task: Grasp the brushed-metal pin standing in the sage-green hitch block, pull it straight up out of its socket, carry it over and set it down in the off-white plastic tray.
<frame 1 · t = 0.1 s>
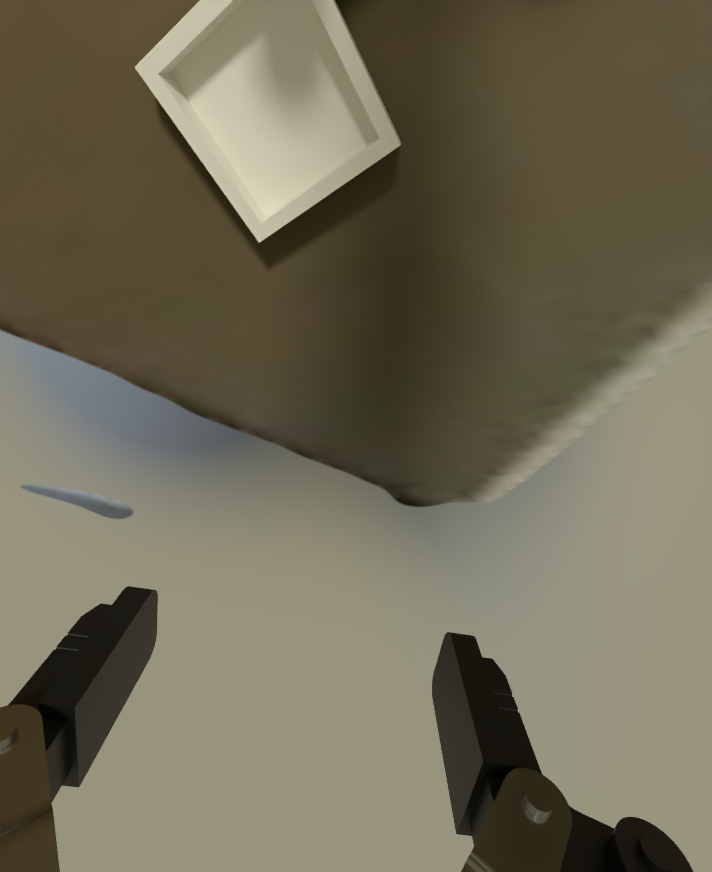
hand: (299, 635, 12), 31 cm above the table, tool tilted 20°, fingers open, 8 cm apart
tray: (279, 104, 30), on the table
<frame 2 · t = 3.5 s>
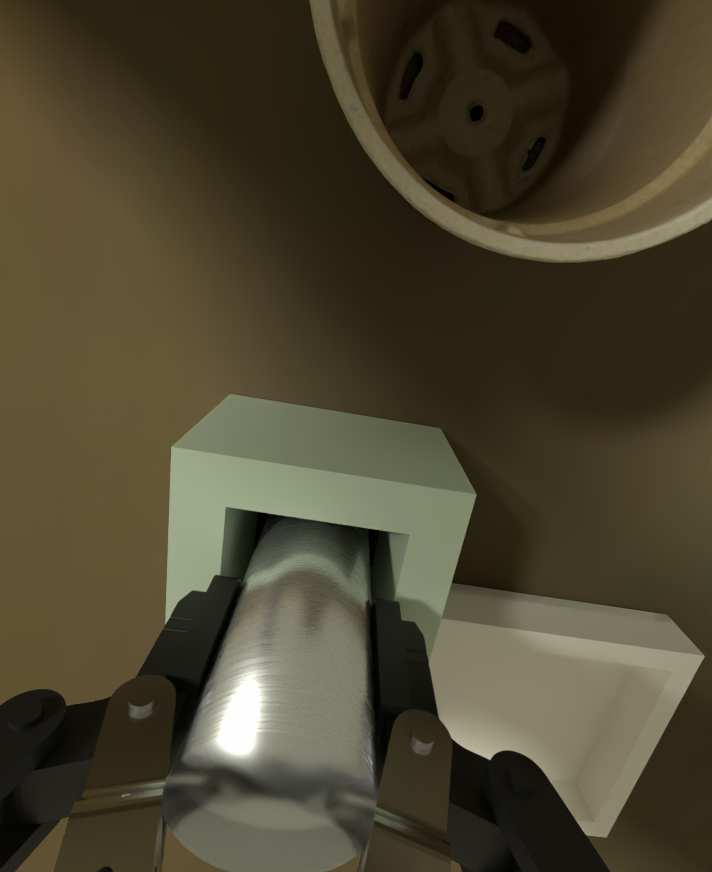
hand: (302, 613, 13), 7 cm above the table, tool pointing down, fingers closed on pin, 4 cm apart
pin: (306, 596, 14), in the hitch block, touching gripper
hitch block: (321, 504, 20), on the table
tray: (509, 692, 23), on the table
flower pot: (473, 120, 15), on the table
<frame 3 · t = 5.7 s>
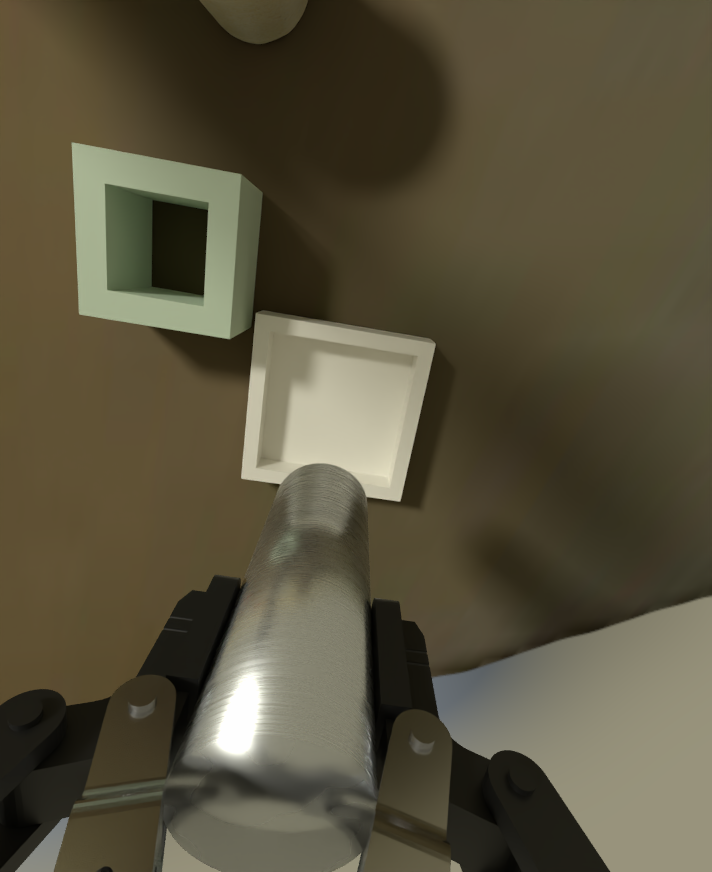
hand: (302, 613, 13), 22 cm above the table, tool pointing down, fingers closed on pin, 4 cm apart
pin: (306, 597, 14), point 21 cm above the table, touching gripper
hitch block: (192, 251, 30), on the table
tray: (334, 404, 34), on the table
when the fingers open (9 cm above the table, at t = 8.1 s): pin drops 1 cm, resting on tray.
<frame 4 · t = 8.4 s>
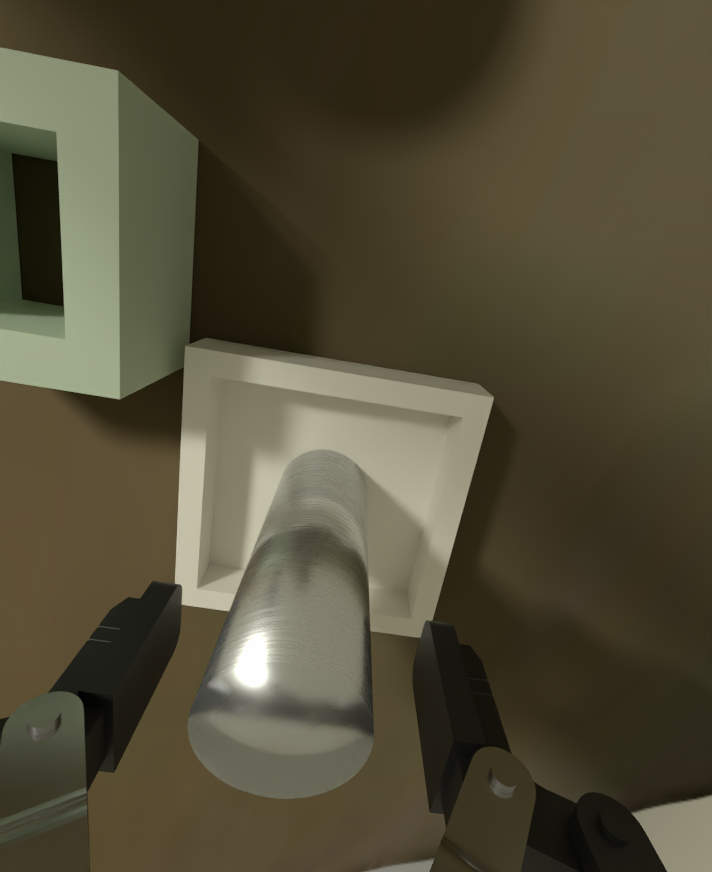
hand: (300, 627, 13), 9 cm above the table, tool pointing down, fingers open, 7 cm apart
pin: (309, 567, 15), in the tray, point 7 cm above the table
hitch block: (85, 241, 18), on the table
tray: (324, 484, 22), on the table
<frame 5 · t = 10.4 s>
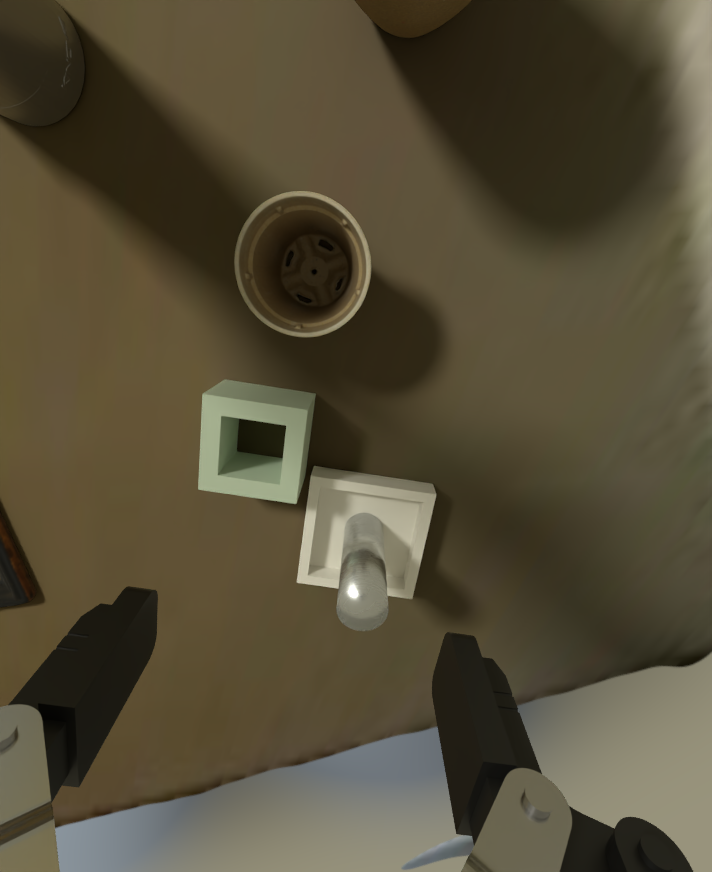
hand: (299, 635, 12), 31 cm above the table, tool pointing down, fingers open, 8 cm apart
pin: (363, 564, 41), in the tray, point 7 cm above the table
hitch block: (266, 429, 44), on the table
tray: (364, 527, 47), on the table
flower pot: (316, 271, 39), on the table
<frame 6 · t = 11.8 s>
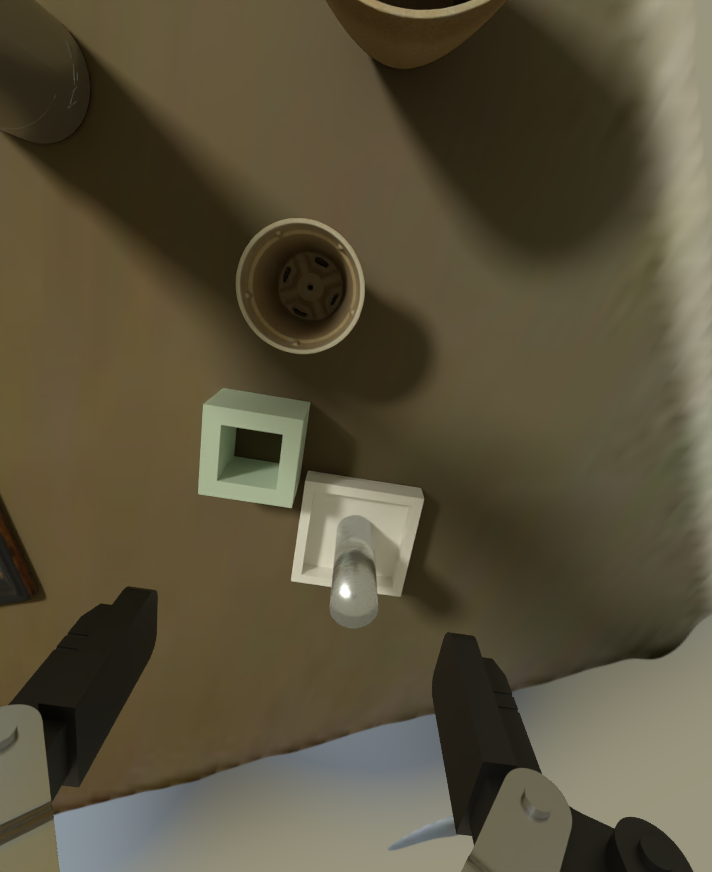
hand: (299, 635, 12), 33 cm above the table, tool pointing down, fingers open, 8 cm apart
pin: (354, 565, 43), in the tray, point 7 cm above the table
hitch block: (262, 435, 46), on the table
tray: (355, 528, 49), on the table
flower pot: (312, 287, 41), on the table
plant pot: (401, 10, 34), on the table
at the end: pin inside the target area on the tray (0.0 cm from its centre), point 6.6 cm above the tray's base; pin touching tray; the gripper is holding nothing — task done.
